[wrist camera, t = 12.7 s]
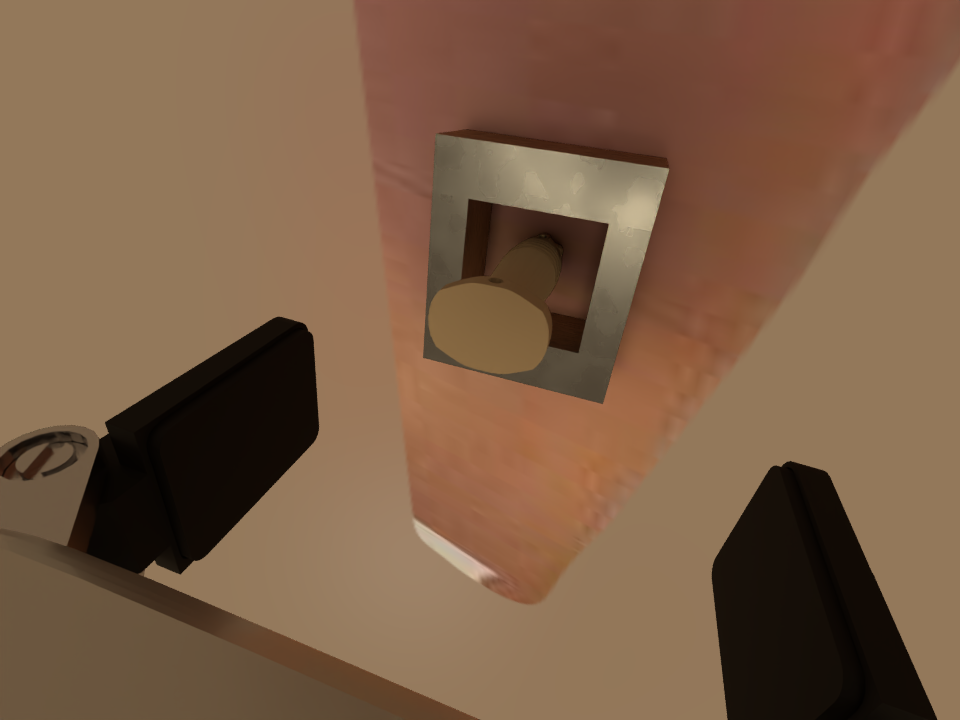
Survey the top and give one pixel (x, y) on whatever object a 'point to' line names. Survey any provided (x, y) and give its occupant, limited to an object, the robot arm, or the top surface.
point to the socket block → (558, 190)
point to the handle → (500, 311)
